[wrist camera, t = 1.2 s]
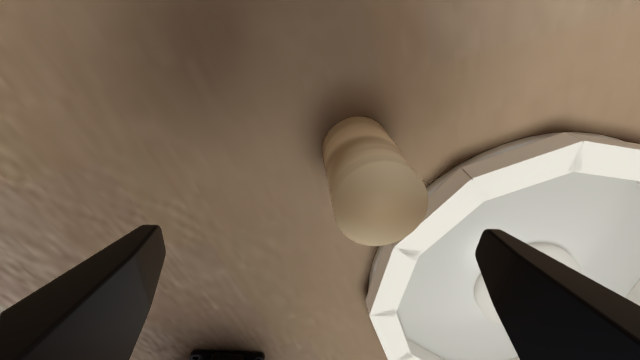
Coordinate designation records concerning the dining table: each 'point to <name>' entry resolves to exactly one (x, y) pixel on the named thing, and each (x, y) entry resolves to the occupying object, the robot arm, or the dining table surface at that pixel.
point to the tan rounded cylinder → (371, 183)
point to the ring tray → (517, 220)
